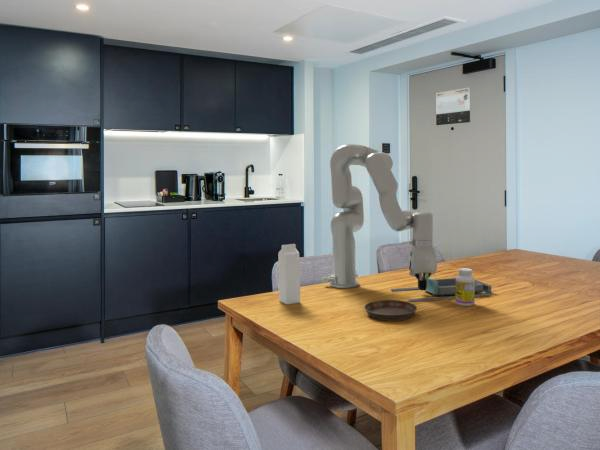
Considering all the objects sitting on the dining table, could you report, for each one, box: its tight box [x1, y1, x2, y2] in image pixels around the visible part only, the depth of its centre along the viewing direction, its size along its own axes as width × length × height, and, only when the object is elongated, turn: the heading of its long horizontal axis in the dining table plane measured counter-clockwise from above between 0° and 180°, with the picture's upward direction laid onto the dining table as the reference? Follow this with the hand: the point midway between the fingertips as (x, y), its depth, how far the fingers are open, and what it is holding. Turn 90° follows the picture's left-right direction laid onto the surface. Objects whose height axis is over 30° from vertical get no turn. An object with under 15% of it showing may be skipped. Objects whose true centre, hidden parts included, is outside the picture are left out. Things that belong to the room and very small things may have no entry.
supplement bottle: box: [454, 267, 476, 307], centre depth 183 cm, size 7×7×13 cm
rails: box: [390, 279, 492, 303], centre depth 200 cm, size 36×18×3 cm, turn 102°
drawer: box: [425, 277, 484, 297], centre depth 200 cm, size 20×14×6 cm
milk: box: [277, 243, 301, 305], centre depth 190 cm, size 6×6×22 cm
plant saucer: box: [363, 299, 418, 322], centre depth 172 cm, size 18×18×3 cm
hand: (422, 289), depth 198 cm, fingers closed
